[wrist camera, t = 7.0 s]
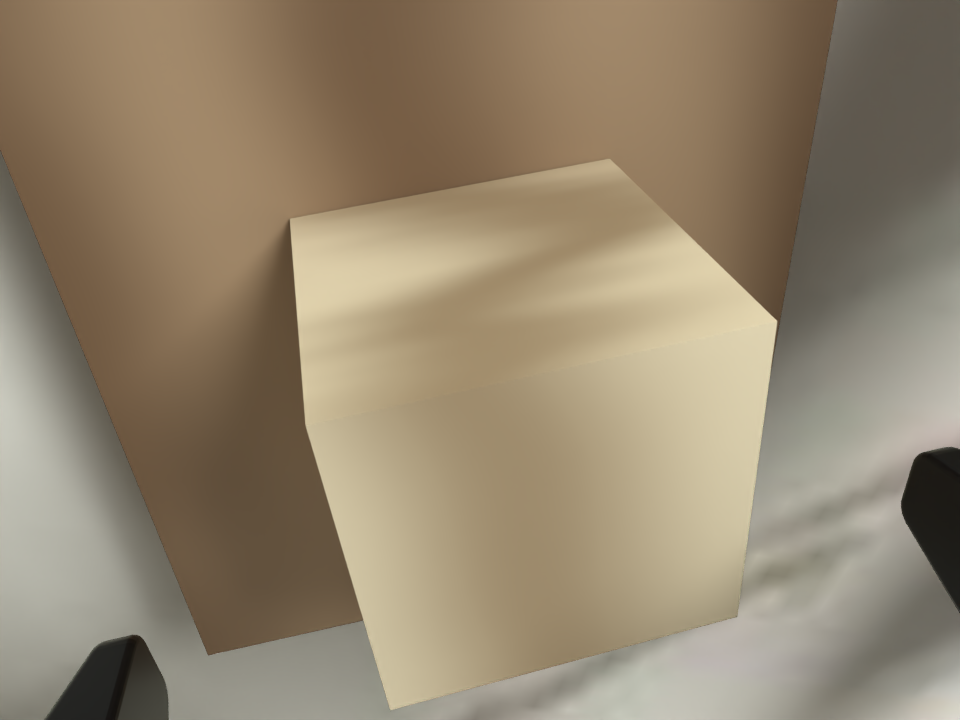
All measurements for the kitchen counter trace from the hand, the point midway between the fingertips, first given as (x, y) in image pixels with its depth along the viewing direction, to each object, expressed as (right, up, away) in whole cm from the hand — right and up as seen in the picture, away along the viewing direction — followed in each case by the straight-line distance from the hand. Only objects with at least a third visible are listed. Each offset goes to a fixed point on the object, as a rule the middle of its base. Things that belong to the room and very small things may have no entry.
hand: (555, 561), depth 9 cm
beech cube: (-1, +3, +5) cm, 6 cm away
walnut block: (-2, +5, +8) cm, 10 cm away
